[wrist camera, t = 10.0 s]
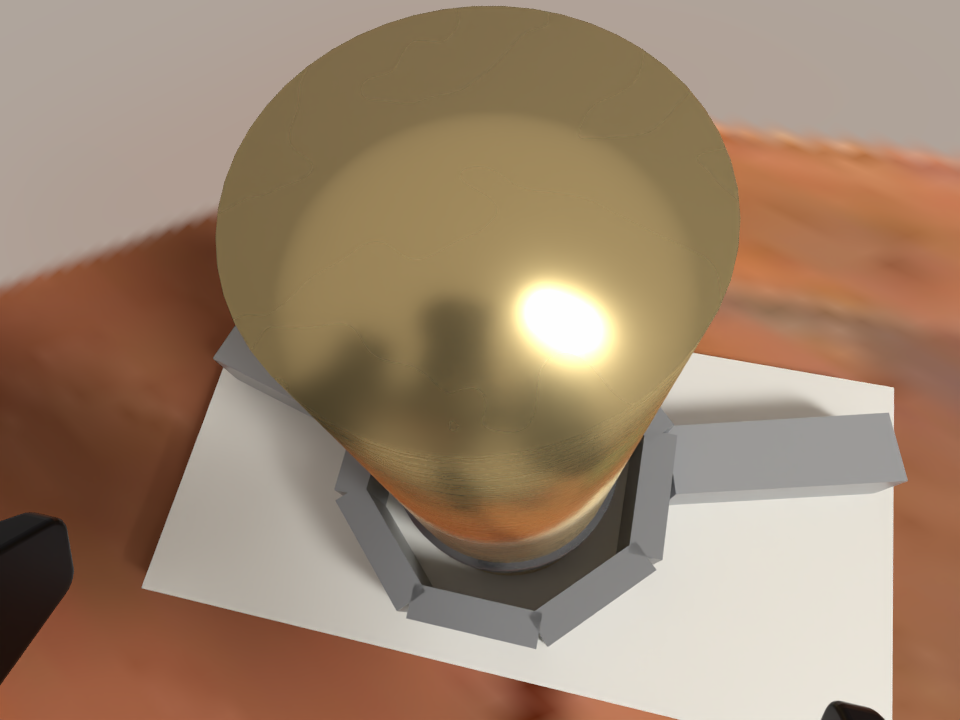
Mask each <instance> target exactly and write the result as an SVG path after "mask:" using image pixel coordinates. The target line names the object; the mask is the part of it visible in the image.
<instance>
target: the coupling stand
mask: <svg viewBox="0 0 960 720" xmlns="http://www.w3.org/2000/svg"><path fill="white" fill-rule="evenodd" d="M213 359H214V360H215V361H216V362H218V363H219V364H220V365H221V366H222V367H223V370H222V373H221V375H220V378H219V381H218V383H217V386H216V389H215V391H214V394H213V397H212V399H211V402H210V405H209V408H208V410H207V413H206V416H205V418H204V421H203V424H202V426H201V429H200V432H199V434H198V437H197V440H196V442H195V445H194V448H193V451H192V453H191V456H190V459H189V461H188V464H187V467H186V469H185V472H184V475H183V477H182V480H181V483H180V485H179V488H178V491H177V494H176V496H175V499H174V502H173V504H172V507H171V510H170V512H169V515H168V518H167V520H166V523H165V526H164V528H163V531H162V534H161V537H160V539H159V542H158V545H157V547H156V550H155V553H154V555H153V558H152V561H151V563H150V566H149V569H148V571H147V574H146V577H145V580H144V582H143V585H142V588H143V589H147V590H152V591H156V592H160V593H164V594H168V595H172V596H176V597H180V598H184V599H188V600H192V601H197V602H201V603H205V604H209V605H213V606H217V607H221V608H225V609H229V610H233V611H237V612H242V613H246V614H250V615H254V616H258V617H262V618H266V619H270V620H274V621H278V622H282V623H287V624H291V625H295V626H299V627H303V628H307V629H311V630H315V631H319V632H323V633H328V634H332V635H336V636H340V637H344V638H348V639H352V640H356V641H360V642H364V643H368V644H373V645H377V646H381V647H385V648H389V649H393V650H397V651H401V652H405V653H409V654H413V655H418V656H422V657H426V658H430V659H434V660H438V661H442V662H446V663H450V664H454V665H459V666H463V667H467V668H471V669H475V670H479V671H483V672H487V673H491V674H495V675H499V676H504V677H508V678H512V679H516V680H520V681H524V682H528V683H532V684H536V685H540V686H544V687H549V688H553V689H557V690H561V691H565V692H569V693H573V694H577V695H581V696H585V697H589V698H594V699H598V700H602V701H606V702H610V703H614V704H618V705H622V706H626V707H630V708H635V709H639V710H643V711H647V712H651V713H655V714H659V715H663V716H667V717H671V718H675V719H680V720H821V718H822V716H823V714H824V711H825V709H826V708H827V706H828V705H829V704H830V703H831V702H833V701H844V702H848V703H852V704H856V705H861V706H865V707H869V708H871V709H873V710H875V711H876V712H878V713H879V714H880V715H881V716H882V717H883V718H884V719H885V720H892V645H893V486H896V485H898V484H901V483H904V482H906V481H908V480H907V476H906V473H905V469H904V465H903V462H902V458H901V455H900V451H899V447H898V444H897V440H896V437H895V433H894V388H892V387H887V386H881V385H875V384H869V383H864V382H858V381H852V380H846V379H840V378H835V377H829V376H823V375H817V374H812V373H806V372H800V371H794V370H789V369H783V368H777V367H771V366H765V365H760V364H754V363H748V362H742V361H737V360H731V359H725V358H719V357H714V356H708V355H702V354H696V353H692V355H691V357H690V358H689V360H688V362H687V363H686V365H685V367H684V368H683V370H682V372H681V373H680V375H679V377H678V378H677V380H676V382H675V383H674V385H673V387H672V388H671V390H670V392H669V393H668V395H667V397H666V398H665V400H664V402H663V403H662V405H661V407H660V408H659V410H658V412H657V413H656V415H655V417H654V418H653V420H652V422H651V423H650V425H649V427H648V428H647V430H646V432H645V433H644V435H643V437H642V438H641V440H640V442H639V443H638V445H637V447H636V448H635V450H634V452H633V453H632V455H631V457H630V458H629V460H628V462H627V463H626V465H625V467H624V468H623V470H622V472H621V473H620V475H619V477H618V479H617V483H616V487H615V490H614V494H613V496H612V499H611V501H610V504H609V506H608V508H607V510H606V512H605V513H604V515H603V517H602V518H601V520H600V522H599V523H598V525H597V526H596V527H595V529H594V530H593V531H592V532H591V534H590V535H589V536H588V537H587V538H586V539H585V540H584V541H583V542H582V543H581V544H580V545H579V546H578V547H577V548H576V549H574V550H573V551H571V552H570V553H569V554H567V555H566V556H564V557H563V558H562V559H560V560H559V561H557V562H556V563H554V564H552V565H550V566H549V567H547V568H545V569H542V570H539V571H536V572H533V573H528V574H524V575H513V576H507V575H496V574H491V573H487V572H484V571H481V570H478V569H475V568H473V567H471V566H468V565H465V564H463V563H461V562H459V561H457V560H455V559H453V558H451V557H449V556H448V555H446V554H445V553H444V552H442V551H441V550H439V549H438V548H437V547H436V546H435V545H433V544H432V543H431V542H430V541H429V540H428V539H427V538H426V537H425V536H424V535H423V534H422V533H421V532H420V531H419V530H418V528H417V527H416V526H415V525H414V523H413V522H412V520H411V519H410V517H409V516H408V514H407V512H406V511H405V509H404V506H403V505H402V504H401V503H400V502H399V501H398V500H397V499H396V498H395V497H394V496H393V495H392V494H391V493H390V492H389V491H388V490H387V489H385V488H384V487H383V486H382V485H381V484H380V483H379V482H378V481H377V480H376V479H375V478H374V477H373V476H372V475H371V474H370V473H369V472H368V471H367V470H366V469H365V468H364V467H363V466H362V465H361V464H360V463H359V462H358V461H357V460H356V459H355V458H354V457H353V456H352V455H351V454H350V453H349V452H348V451H347V450H346V449H345V448H344V447H343V446H342V445H341V444H340V443H339V442H338V441H337V440H336V439H335V438H334V437H333V436H332V435H331V434H330V433H329V432H328V431H326V430H325V429H324V428H323V427H322V426H321V425H320V424H319V423H318V422H317V421H316V420H315V419H314V418H313V417H312V416H311V415H310V414H309V413H308V412H307V411H306V410H305V409H304V408H303V407H302V406H301V405H300V404H299V403H298V402H297V401H296V400H295V399H294V398H293V397H292V396H291V395H290V394H289V393H288V392H287V391H286V390H285V389H284V388H283V387H282V386H281V385H280V384H279V383H278V382H277V381H276V380H275V379H274V378H273V377H272V376H271V375H270V374H269V373H268V372H267V370H266V369H265V368H264V367H263V366H262V364H261V363H260V362H259V361H258V359H257V358H256V357H255V356H254V354H253V353H252V352H251V351H250V349H249V347H248V346H247V344H246V342H245V341H244V339H243V337H242V335H241V334H240V332H239V330H238V329H237V327H236V325H235V327H234V328H233V330H232V331H231V333H230V334H229V335H228V337H227V338H226V340H225V341H224V343H223V344H222V346H221V347H220V349H219V350H218V351H217V353H216V354H215V356H214V357H213Z"/></svg>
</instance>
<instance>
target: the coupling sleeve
mask: <svg viewBox="0 0 960 720" xmlns="http://www.w3.org/2000/svg"><path fill="white" fill-rule="evenodd" d="M739 230H740V209H739V197H738V188H737V184H736V179H735V175H734V171H733V167H732V163H731V160H730V157H729V155H728V152H727V150H726V148H725V145H724V143H723V140H722V138H721V136H720V133H719V131H718V130H717V128H716V126H715V125H714V123H713V121H712V120H711V118H710V116H709V115H708V113H707V111H706V110H705V108H704V107H703V106H702V105H701V103H700V102H699V101H698V100H697V98H696V97H695V96H694V95H693V93H692V92H691V91H690V90H689V88H688V87H687V86H686V85H685V84H684V83H683V82H682V81H681V80H680V79H679V78H678V77H676V76H675V75H674V74H673V73H672V72H671V71H670V70H669V69H668V68H667V67H666V66H665V65H663V64H662V63H661V62H659V61H658V60H657V59H655V58H654V57H652V56H651V55H650V54H648V53H647V52H646V51H644V50H643V49H641V48H640V47H638V46H636V45H634V44H633V43H631V42H629V41H627V40H626V39H624V38H622V37H620V36H618V35H616V34H614V33H612V32H610V31H607V30H605V29H603V28H600V27H598V26H596V25H593V24H591V23H588V22H585V21H581V20H578V19H575V18H572V17H568V16H565V15H562V14H557V13H551V12H546V11H541V10H536V9H529V8H518V7H506V6H471V7H461V8H453V9H443V10H438V11H433V12H428V13H423V14H418V15H413V16H410V17H407V18H404V19H400V20H397V21H394V22H390V23H388V24H385V25H382V26H380V27H377V28H375V29H373V30H370V31H368V32H365V33H363V34H361V35H358V36H356V37H354V38H352V39H351V40H349V41H347V42H345V43H343V44H341V45H340V46H338V47H336V48H334V49H332V50H331V51H329V52H328V53H327V54H325V55H323V56H322V57H320V58H319V59H318V60H316V61H315V62H313V63H312V64H310V65H309V66H307V67H306V68H305V69H304V70H303V71H302V72H300V73H299V74H298V75H297V76H296V77H295V78H293V79H292V80H291V81H290V82H289V83H288V84H287V85H285V86H284V88H283V89H282V90H281V91H280V92H279V93H278V94H277V95H276V96H275V97H274V98H273V99H272V100H271V101H270V103H269V104H268V105H267V106H266V107H265V109H264V110H263V111H262V113H261V114H260V115H259V116H258V118H257V119H256V121H255V122H254V123H253V125H252V126H251V127H250V129H249V131H248V132H247V134H246V136H245V138H244V139H243V141H242V143H241V145H240V147H239V148H238V150H237V152H236V154H235V156H234V159H233V161H232V164H231V167H230V169H229V171H228V174H227V177H226V179H225V182H224V186H223V191H222V195H221V199H220V203H219V207H218V215H217V226H216V254H217V267H218V272H219V277H220V281H221V286H222V290H223V295H224V298H225V300H226V303H227V305H228V308H229V310H230V313H231V316H232V318H233V321H234V323H235V325H236V327H237V329H238V330H239V332H240V334H241V335H242V337H243V339H244V341H245V342H246V344H247V346H248V347H249V349H250V351H251V352H252V353H253V354H254V356H255V357H256V358H257V359H258V361H259V362H260V363H261V364H262V366H263V367H264V368H265V369H266V370H267V372H268V373H269V374H270V375H271V376H272V377H273V378H274V379H275V380H276V381H277V382H278V383H279V384H280V385H281V386H282V387H283V388H284V389H285V390H286V391H287V392H288V393H289V394H290V395H291V396H292V397H293V398H294V399H295V400H296V401H297V402H298V403H299V404H300V405H301V406H302V407H303V408H304V409H305V410H306V411H307V412H308V413H309V414H310V415H311V416H312V417H313V418H314V419H315V420H316V421H317V422H318V423H319V424H320V425H321V426H322V427H323V428H324V429H325V430H326V431H328V432H329V433H330V434H331V435H332V436H333V437H334V438H335V439H336V440H337V441H338V442H339V443H340V444H341V445H342V446H343V447H344V448H345V449H346V450H347V451H348V452H349V453H350V454H351V455H352V456H353V457H354V458H355V459H356V460H357V461H358V462H359V463H360V464H361V465H362V466H363V467H364V468H365V469H366V470H367V471H368V472H369V473H370V474H371V475H372V476H373V477H374V478H375V479H376V480H377V481H378V482H379V483H380V484H381V485H382V486H383V487H384V488H385V489H387V490H388V491H389V492H390V493H391V494H392V495H393V496H394V497H395V498H396V499H397V500H398V501H399V502H400V503H401V504H402V505H403V506H404V509H405V511H406V512H407V514H408V516H409V517H410V519H411V520H412V522H413V523H414V525H415V526H416V527H417V528H418V530H419V531H420V532H421V533H422V534H423V535H424V536H425V537H426V538H427V539H428V540H429V541H430V542H431V543H432V544H433V545H435V546H436V547H437V548H438V549H439V550H441V551H442V552H444V553H445V554H446V555H448V556H449V557H451V558H453V559H455V560H457V561H459V562H461V563H463V564H465V565H468V566H471V567H473V568H475V569H478V570H481V571H484V572H487V573H491V574H496V575H507V576H513V575H524V574H528V573H533V572H536V571H539V570H542V569H545V568H547V567H549V566H550V565H552V564H554V563H556V562H557V561H559V560H560V559H562V558H563V557H564V556H566V555H567V554H569V553H570V552H571V551H573V550H574V549H576V548H577V547H578V546H579V545H580V544H581V543H582V542H583V541H584V540H585V539H586V538H587V537H588V536H589V535H590V534H591V532H592V531H593V530H594V529H595V527H596V526H597V525H598V523H599V522H600V520H601V518H602V517H603V515H604V513H605V512H606V510H607V508H608V506H609V504H610V501H611V499H612V496H613V494H614V490H615V487H616V483H617V479H618V477H619V475H620V473H621V472H622V470H623V468H624V467H625V465H626V463H627V462H628V460H629V458H630V457H631V455H632V453H633V452H634V450H635V448H636V447H637V445H638V443H639V442H640V440H641V438H642V437H643V435H644V433H645V432H646V430H647V428H648V427H649V425H650V423H651V422H652V420H653V418H654V417H655V415H656V413H657V412H658V410H659V408H660V407H661V405H662V403H663V402H664V400H665V398H666V397H667V395H668V393H669V392H670V390H671V388H672V387H673V385H674V383H675V382H676V380H677V378H678V377H679V375H680V373H681V372H682V370H683V368H684V367H685V365H686V363H687V362H688V360H689V358H690V357H691V355H692V353H693V352H694V350H695V348H696V347H697V345H698V343H699V342H700V340H701V338H702V337H703V335H704V333H705V332H706V330H707V328H708V327H709V325H710V323H711V322H712V320H713V318H714V317H715V315H716V313H717V312H718V310H719V308H720V305H721V303H722V300H723V298H724V295H725V293H726V290H727V288H728V286H729V283H730V281H731V277H732V273H733V269H734V264H735V260H736V256H737V251H738V244H739Z"/></svg>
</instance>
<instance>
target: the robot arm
mask: <svg viewBox="0 0 960 720" xmlns="http://www.w3.org/2000/svg"><path fill="white" fill-rule="evenodd" d="M73 574H74V567H73V561H72V555H71V549H70V543H69V537H68V531H67V527H66V525H65V523H64V522H63V521H62V520H61V519H59V518H56V517H52V516H48V515H43V514H39V513H32V512H29V513H24V514H20V515H17V516H15V517H12V518H9V519H6V520H3V521H0V685H1V683H2V682H3V681H4V679H5V678H6V676H7V675H8V674H9V672H10V671H11V669H12V668H13V667H14V665H15V664H16V662H17V661H18V660H19V658H20V657H21V655H22V654H23V653H24V651H25V650H26V648H27V647H28V646H29V644H30V643H31V641H32V640H33V639H34V637H35V636H36V634H37V633H38V632H39V630H40V629H41V627H42V626H43V625H44V623H45V622H46V620H47V619H48V618H49V616H50V615H51V613H52V612H53V611H54V609H55V608H56V606H57V605H58V604H59V602H60V601H61V599H62V598H63V597H64V595H65V594H66V592H67V591H68V589H69V587H70V585H71V582H72V579H73ZM821 720H885V719H884V718H883V717H882V716H881V715H880V714H879V713H878V712H876V711H875V710H873V709H871V708H869V707H865V706H861V705H856V704H852V703H848V702H844V701H833V702H831V703H830V704H829V705H828V706H827V708H826V709H825V711H824V714H823V716H822V718H821Z"/></svg>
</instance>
